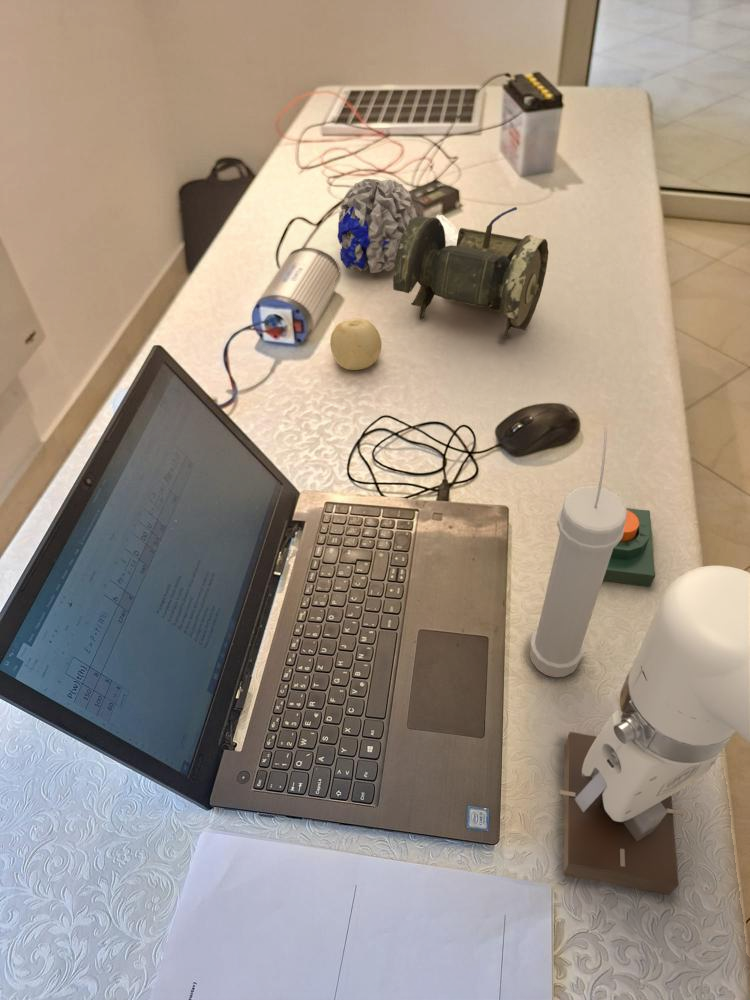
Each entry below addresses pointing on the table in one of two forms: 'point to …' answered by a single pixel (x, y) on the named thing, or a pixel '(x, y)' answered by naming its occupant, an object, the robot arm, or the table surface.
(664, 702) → the robot arm
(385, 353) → the table surface
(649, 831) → the rod knob
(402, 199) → the educational model
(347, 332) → the apple
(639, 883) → the panel
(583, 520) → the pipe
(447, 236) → the bird figurine
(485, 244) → the bench grinder
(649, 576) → the button box
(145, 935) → the table surface
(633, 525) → the button
